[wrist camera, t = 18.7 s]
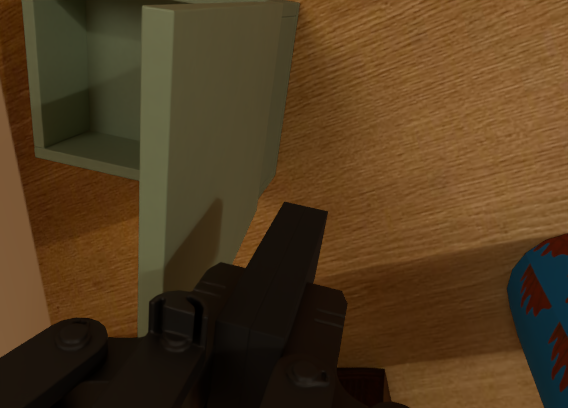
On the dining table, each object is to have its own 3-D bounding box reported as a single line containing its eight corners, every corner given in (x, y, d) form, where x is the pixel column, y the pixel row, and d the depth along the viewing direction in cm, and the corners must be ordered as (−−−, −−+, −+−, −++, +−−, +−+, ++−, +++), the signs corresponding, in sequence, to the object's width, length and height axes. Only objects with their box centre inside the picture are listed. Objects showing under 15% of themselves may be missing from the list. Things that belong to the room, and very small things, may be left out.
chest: (87, 135, 43) (34, 157, 36) (81, -33, 37) (17, -41, 31) (275, 175, 40) (252, 207, 34) (300, 2, 34) (278, 2, 28)
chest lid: (135, 424, 16) (157, 429, 16) (140, 4, 11) (173, 10, 11) (245, 208, 33) (256, 210, 33) (270, 1, 28) (283, 3, 28)
